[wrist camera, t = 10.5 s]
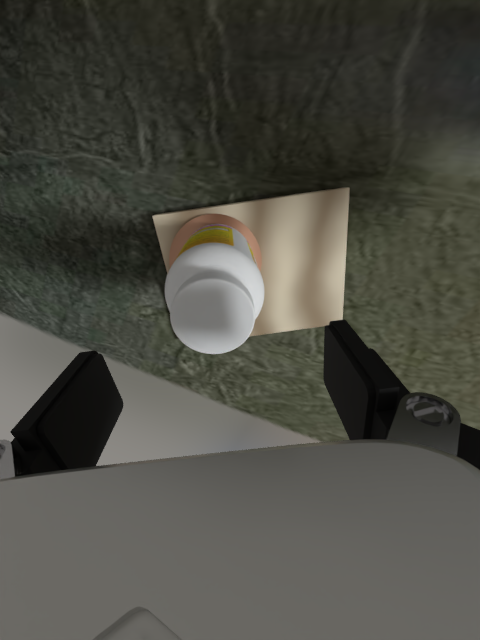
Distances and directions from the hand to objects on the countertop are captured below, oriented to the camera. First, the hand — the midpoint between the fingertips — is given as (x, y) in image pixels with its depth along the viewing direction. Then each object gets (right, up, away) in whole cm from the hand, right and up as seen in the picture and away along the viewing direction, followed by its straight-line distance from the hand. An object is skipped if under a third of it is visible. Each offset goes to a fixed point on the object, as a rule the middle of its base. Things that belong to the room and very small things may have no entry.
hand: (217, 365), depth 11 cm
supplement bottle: (-1, +8, +15) cm, 17 cm away
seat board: (+3, +7, +17) cm, 19 cm away
